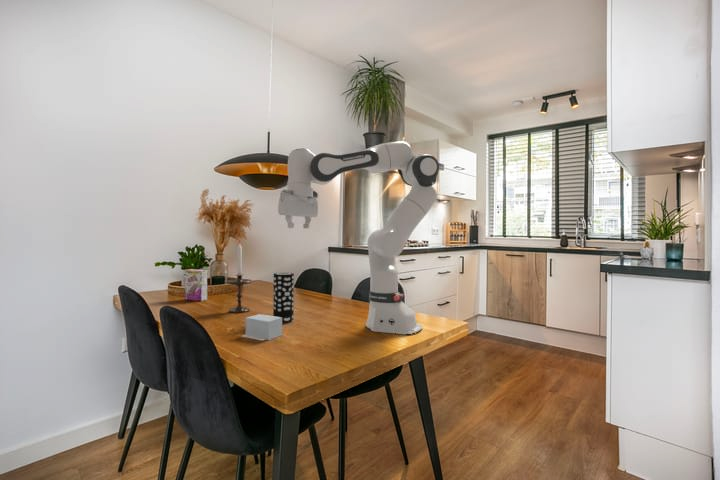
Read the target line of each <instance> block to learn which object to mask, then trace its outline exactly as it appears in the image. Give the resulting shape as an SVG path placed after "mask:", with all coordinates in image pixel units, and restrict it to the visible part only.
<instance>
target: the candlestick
mask: <svg viewBox="0 0 720 480" xmlns="http://www.w3.org/2000/svg"><path fill="white" fill-rule="evenodd" d="M237 239H238V246H237V274H235V276H236V278H235V279H227V282H226V284H228V285H235V286H236V287H237V294H236V295H235V296H236V297H237V299H236V302H237V306H236V307H231V308H230V309H229V310H228V311H229V313H230V312H231V314H244V312H245V313H249V312H250V308H249V307H245V306H242V302H243V299H242V298H243V293H242V287H243V286H244V285H249V284H251V283H252V282H253V281H252V279H249V278H248V279H246V278H243V273H242V271H243V270H242V269H243V268H242V267H243V266H242V265H243V261H242V260H243V259H242V258H243V255H242V254H243V251H242V250H243V247H242V245H241V239H240V237H238V238H237Z"/></svg>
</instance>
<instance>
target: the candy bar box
mask: <svg viewBox="0 0 720 480" xmlns="http://www.w3.org/2000/svg"><path fill="white" fill-rule="evenodd" d="M184 300H185V301H191V300H195V301H194V302H204V301H203V300H205V301H208V270H206V269H193V268H191V269H185V270H184Z"/></svg>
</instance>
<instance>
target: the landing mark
mask: <svg viewBox="0 0 720 480" xmlns="http://www.w3.org/2000/svg"><path fill="white" fill-rule="evenodd" d="M241 337H242V338H247V339H253V340H257V341H262V342H263V341H265V340H266V339H263V338H258V337H253V336H248V335H246V334H244V335H241Z"/></svg>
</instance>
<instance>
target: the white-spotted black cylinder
mask: <svg viewBox="0 0 720 480" xmlns="http://www.w3.org/2000/svg"><path fill="white" fill-rule="evenodd" d="M294 276H295V273H293V272H275V273H274V272H273V295H272V296H273V298H272V299H273V302H272V303H273V304H272V305H273V306H272V308H273V309H272V310H273V311H272V312H273V315H272V316H276V317H282V324H289V323H292V322H294V312H295V311H294V307H295V306H294V298H295V297H294V292H295V291H294V290H295V289H294V288H295V287H294V286H295V281H294V278H295V277H294Z"/></svg>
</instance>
